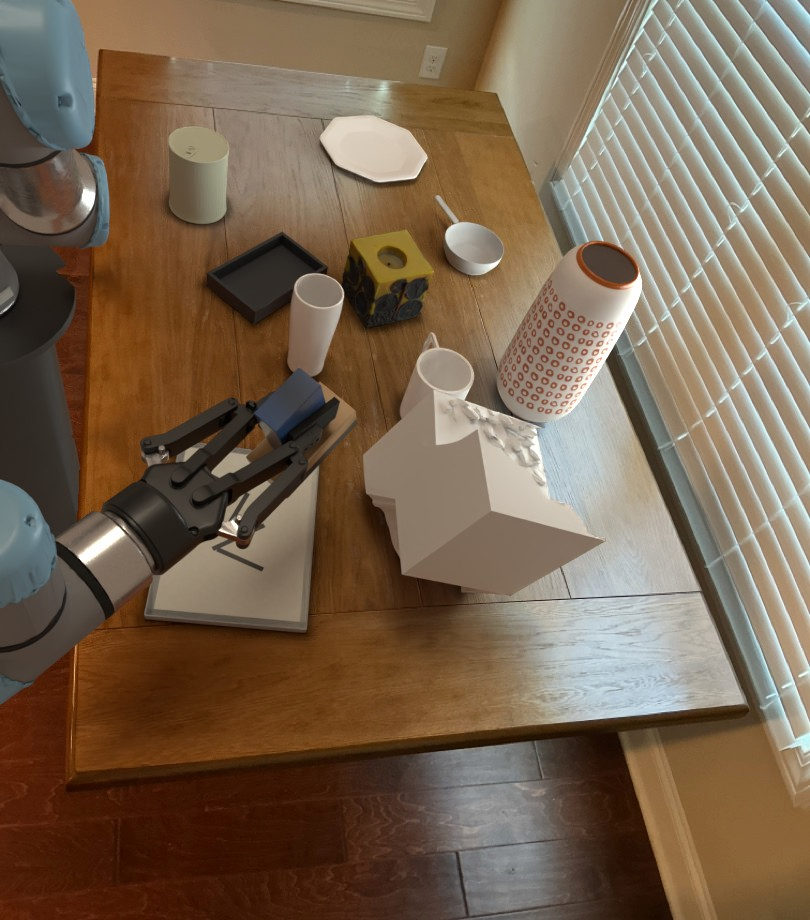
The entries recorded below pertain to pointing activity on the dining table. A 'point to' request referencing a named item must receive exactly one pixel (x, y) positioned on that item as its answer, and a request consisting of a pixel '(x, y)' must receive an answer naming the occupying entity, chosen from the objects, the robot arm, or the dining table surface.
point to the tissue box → (471, 498)
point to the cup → (437, 375)
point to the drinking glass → (313, 321)
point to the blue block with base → (301, 419)
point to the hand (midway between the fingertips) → (321, 396)
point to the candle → (386, 278)
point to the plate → (373, 148)
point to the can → (198, 174)
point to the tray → (263, 276)
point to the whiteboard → (245, 565)
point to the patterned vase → (568, 331)
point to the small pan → (470, 245)
